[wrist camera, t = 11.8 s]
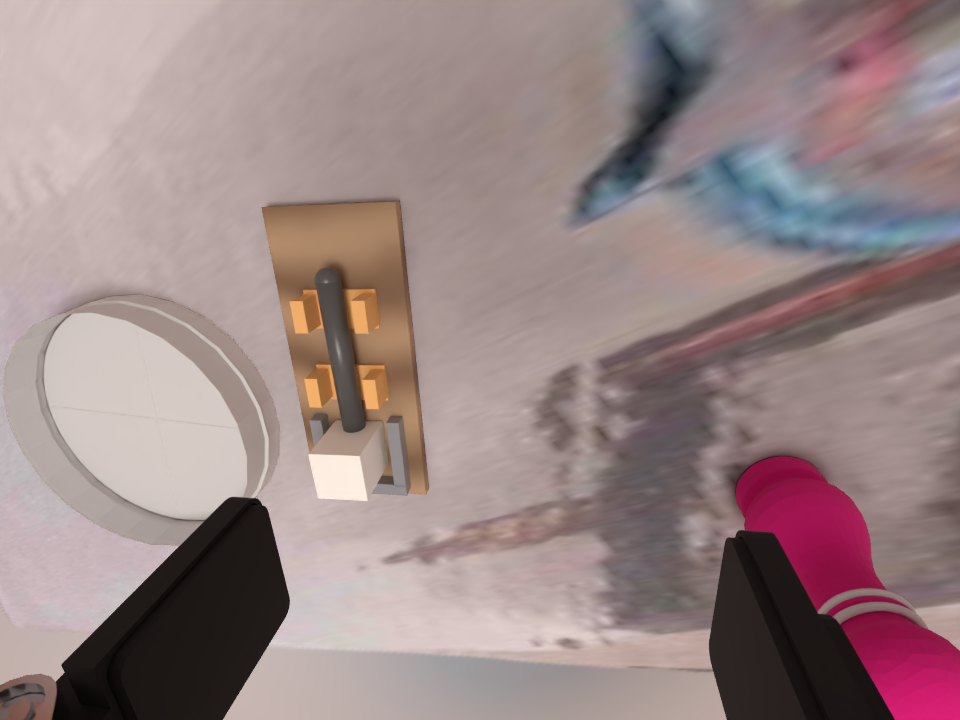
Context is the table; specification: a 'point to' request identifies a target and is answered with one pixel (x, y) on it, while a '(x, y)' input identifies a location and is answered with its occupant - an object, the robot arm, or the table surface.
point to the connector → (345, 410)
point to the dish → (141, 415)
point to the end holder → (398, 454)
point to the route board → (361, 265)
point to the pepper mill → (852, 586)
